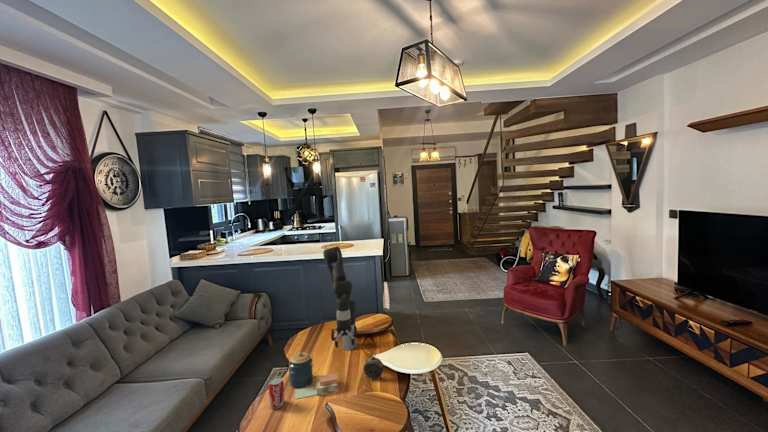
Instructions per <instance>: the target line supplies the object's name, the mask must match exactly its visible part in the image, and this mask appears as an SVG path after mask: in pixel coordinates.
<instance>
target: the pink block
mask: <svg viewBox="0 0 768 432" xmlns="http://www.w3.org/2000/svg"><path fill="white" fill-rule="evenodd" d="M318 378H319V381H320V386H322V385H327V384H332V383H337V384H338V378H337V373H336V372H333V373H329V374H323V375H319V376H318Z"/></svg>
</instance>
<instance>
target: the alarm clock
mask: <svg viewBox="0 0 768 432" xmlns="http://www.w3.org/2000/svg"><path fill="white" fill-rule="evenodd" d="M373 353H374V355H375V356H371V354H373ZM369 355H370V356H369V358H367V359H366V360H365V362H364V364H363V372H364V374H365V375H366V378H369V379H371V382H373V381H374V379H375V380H376V379H381V380H382V374H383V371H384V363H383V362H382V360H381V359H379V358H377V354H376V352H374V351H372V352H370V354H369Z"/></svg>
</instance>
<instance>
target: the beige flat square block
mask: <svg viewBox="0 0 768 432" xmlns="http://www.w3.org/2000/svg"><path fill="white" fill-rule="evenodd" d="M314 379H315V381H314V382H315V386H316V391H317V395H316V396H318V397H319V396H324V395H329V394H333V393H338V392H339V384H338V382H337V383H332V384H327V385H322V386H320V381H319V377H316V378H314Z"/></svg>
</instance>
